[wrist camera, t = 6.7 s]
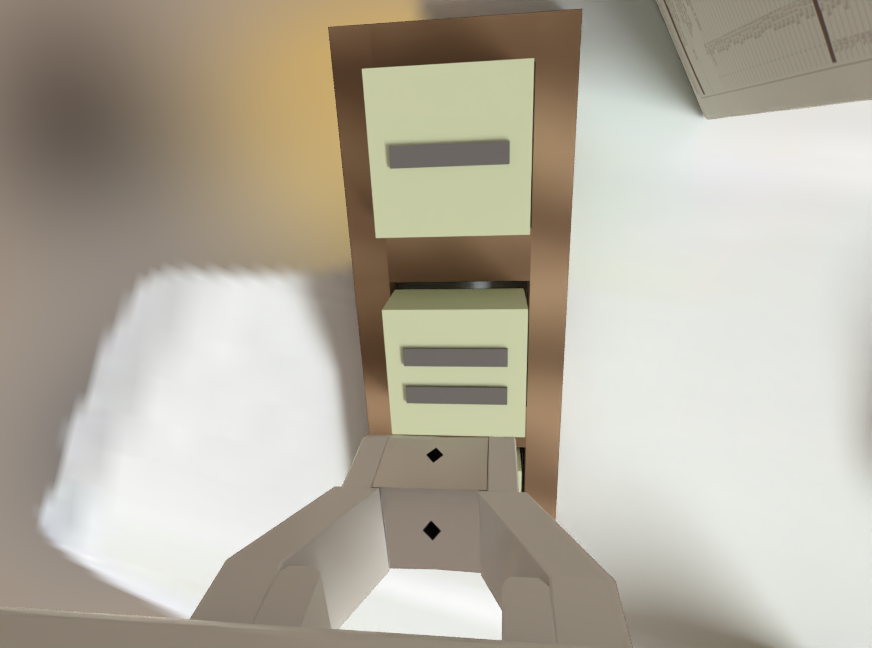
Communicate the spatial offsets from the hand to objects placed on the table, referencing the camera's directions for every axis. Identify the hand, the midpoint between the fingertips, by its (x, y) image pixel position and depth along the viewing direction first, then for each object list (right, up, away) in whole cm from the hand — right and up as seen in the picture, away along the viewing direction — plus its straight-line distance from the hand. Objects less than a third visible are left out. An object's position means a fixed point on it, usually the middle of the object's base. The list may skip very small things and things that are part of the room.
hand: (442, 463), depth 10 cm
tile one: (+1, +10, +11) cm, 15 cm away
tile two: (+1, +2, +14) cm, 14 cm away
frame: (+1, +2, +16) cm, 16 cm away
